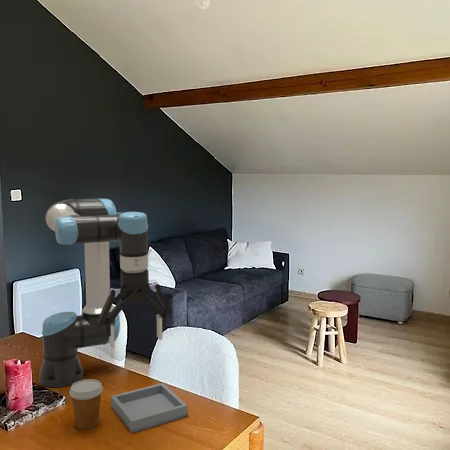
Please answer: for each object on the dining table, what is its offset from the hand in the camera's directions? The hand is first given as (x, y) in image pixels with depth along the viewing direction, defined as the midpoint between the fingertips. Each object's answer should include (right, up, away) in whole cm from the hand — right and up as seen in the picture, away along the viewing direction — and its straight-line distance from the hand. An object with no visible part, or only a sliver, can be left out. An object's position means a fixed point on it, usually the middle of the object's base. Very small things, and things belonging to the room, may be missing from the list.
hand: (136, 342), depth 132 cm
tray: (+1, -25, +15) cm, 30 cm away
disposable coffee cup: (-16, -26, +7) cm, 32 cm away
